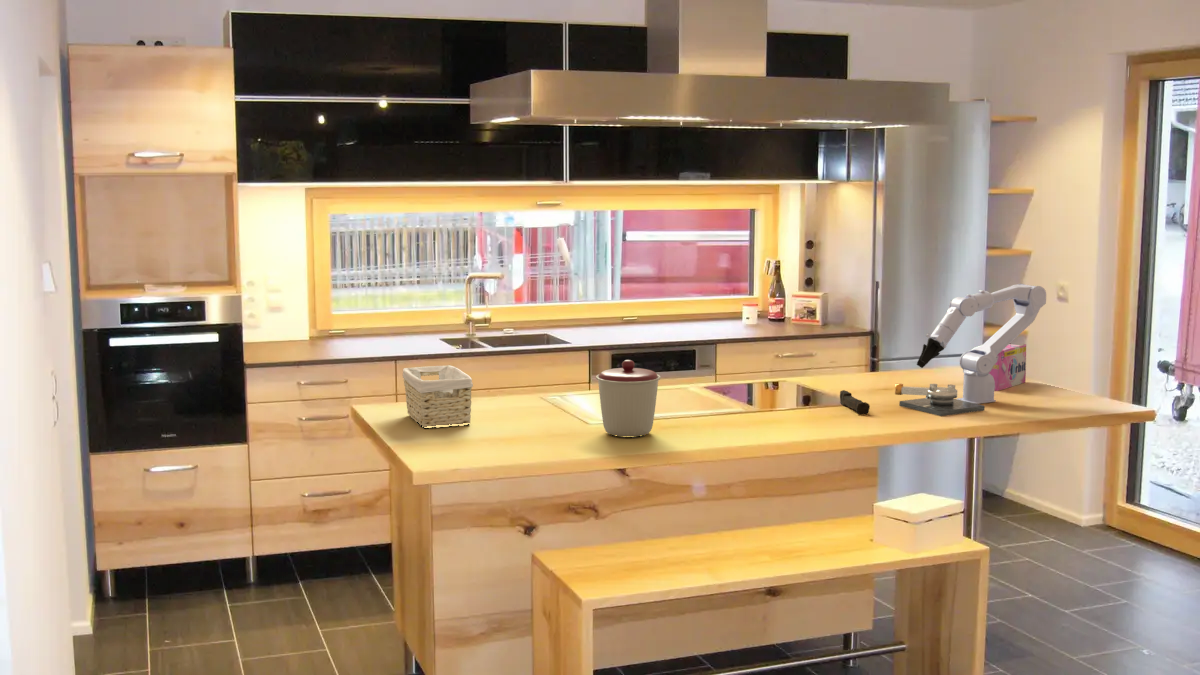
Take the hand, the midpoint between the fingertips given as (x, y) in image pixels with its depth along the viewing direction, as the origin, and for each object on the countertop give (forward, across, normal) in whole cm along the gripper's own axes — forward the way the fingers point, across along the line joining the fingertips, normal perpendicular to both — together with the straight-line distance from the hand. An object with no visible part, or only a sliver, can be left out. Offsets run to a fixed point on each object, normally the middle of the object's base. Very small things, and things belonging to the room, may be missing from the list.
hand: (921, 364), depth 367 cm
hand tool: (+25, +2, -9) cm, 27 cm away
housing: (+8, -1, +13) cm, 15 cm away
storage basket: (+104, +33, -104) cm, 151 cm away
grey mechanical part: (+8, -1, +7) cm, 11 cm away
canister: (+74, +44, -55) cm, 102 cm away
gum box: (-19, -42, +27) cm, 54 cm away
